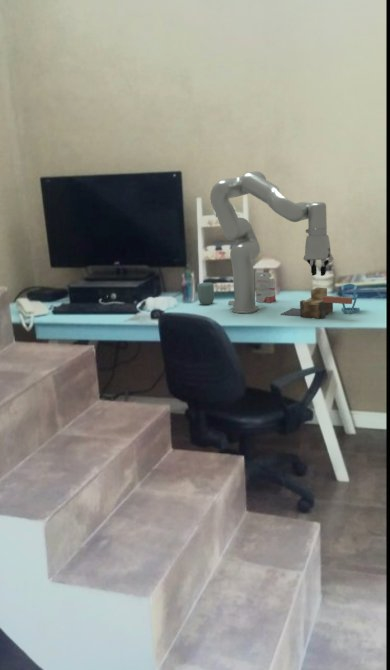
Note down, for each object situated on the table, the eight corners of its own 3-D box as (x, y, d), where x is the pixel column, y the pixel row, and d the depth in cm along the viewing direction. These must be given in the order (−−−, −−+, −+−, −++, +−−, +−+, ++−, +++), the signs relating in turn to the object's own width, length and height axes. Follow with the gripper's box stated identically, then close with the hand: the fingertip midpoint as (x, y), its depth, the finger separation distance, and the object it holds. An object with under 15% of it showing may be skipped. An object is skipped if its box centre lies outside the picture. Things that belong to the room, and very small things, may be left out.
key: (323, 302, 269) (322, 296, 268) (324, 301, 270) (324, 295, 270) (350, 304, 262) (350, 298, 261) (352, 303, 263) (352, 297, 263)
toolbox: (300, 317, 276) (299, 301, 274) (313, 310, 287) (313, 295, 285) (322, 319, 270) (322, 303, 268) (335, 311, 281) (335, 296, 279)
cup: (217, 302, 317) (216, 282, 315) (209, 306, 311) (207, 285, 309) (204, 301, 322) (202, 282, 319) (195, 305, 315) (194, 285, 313)
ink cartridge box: (276, 300, 312) (274, 270, 308) (271, 303, 308) (269, 272, 304) (260, 299, 316) (259, 270, 313) (255, 302, 313) (254, 272, 309)
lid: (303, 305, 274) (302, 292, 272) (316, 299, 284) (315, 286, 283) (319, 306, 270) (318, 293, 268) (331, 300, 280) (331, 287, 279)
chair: (339, 314, 277) (338, 286, 274) (341, 309, 284) (341, 282, 281) (357, 314, 274) (357, 286, 271) (359, 309, 282) (359, 282, 279)
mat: (280, 314, 283) (280, 313, 283) (292, 308, 293) (292, 308, 292) (301, 316, 277) (301, 315, 277) (312, 310, 287) (312, 309, 287)
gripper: (295, 233, 272) (297, 276, 277) (332, 233, 263) (333, 277, 268) (303, 231, 278) (304, 273, 283) (339, 231, 269) (340, 274, 274)
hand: (318, 274), depth 275 cm, fingers open, 3 cm apart
